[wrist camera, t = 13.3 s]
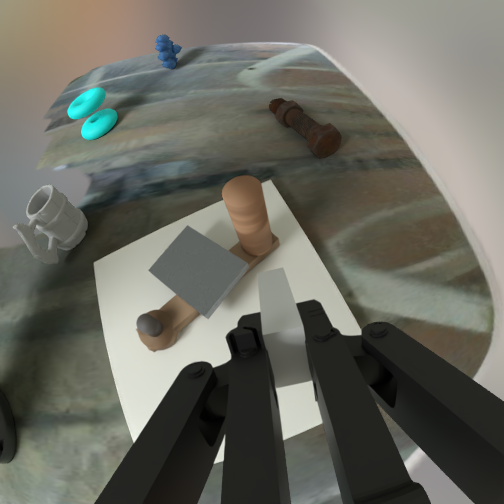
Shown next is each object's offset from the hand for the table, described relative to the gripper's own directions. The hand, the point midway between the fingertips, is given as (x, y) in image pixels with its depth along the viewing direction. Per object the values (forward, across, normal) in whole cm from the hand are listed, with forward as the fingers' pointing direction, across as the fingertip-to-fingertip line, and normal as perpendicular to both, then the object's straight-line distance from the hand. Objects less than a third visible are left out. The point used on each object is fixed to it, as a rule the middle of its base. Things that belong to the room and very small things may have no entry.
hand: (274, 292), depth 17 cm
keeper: (+18, -8, -5) cm, 20 cm away
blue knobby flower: (+65, -13, +42) cm, 78 cm away
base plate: (+14, -8, -9) cm, 18 cm away
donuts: (+51, -32, +27) cm, 65 cm away
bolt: (+35, +10, +11) cm, 38 cm away
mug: (+27, -32, +3) cm, 42 cm away
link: (+15, -7, -5) cm, 18 cm away
